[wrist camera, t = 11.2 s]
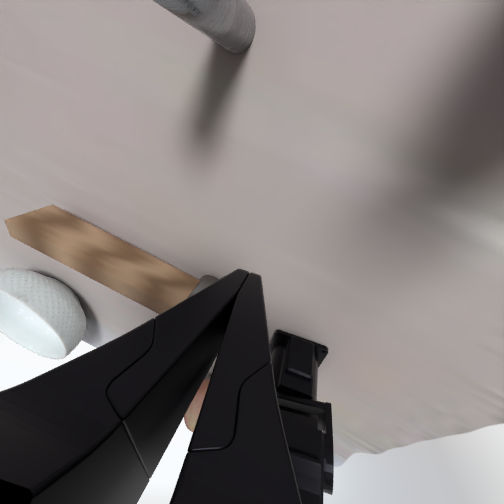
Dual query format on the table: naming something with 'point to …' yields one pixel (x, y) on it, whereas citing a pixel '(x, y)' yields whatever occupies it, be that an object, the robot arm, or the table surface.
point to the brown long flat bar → (105, 258)
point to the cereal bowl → (40, 313)
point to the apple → (196, 406)
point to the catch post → (217, 20)
